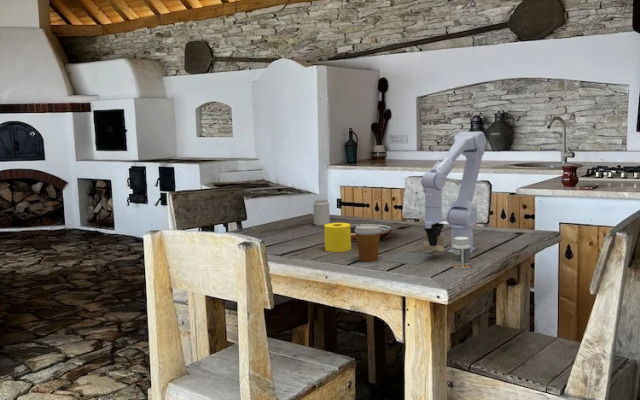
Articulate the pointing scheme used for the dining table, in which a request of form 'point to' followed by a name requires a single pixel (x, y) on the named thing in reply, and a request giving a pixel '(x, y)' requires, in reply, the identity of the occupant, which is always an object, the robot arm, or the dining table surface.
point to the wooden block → (438, 247)
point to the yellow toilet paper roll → (337, 237)
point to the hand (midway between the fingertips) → (434, 245)
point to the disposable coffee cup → (368, 241)
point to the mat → (409, 258)
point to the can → (321, 212)
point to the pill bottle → (461, 253)
